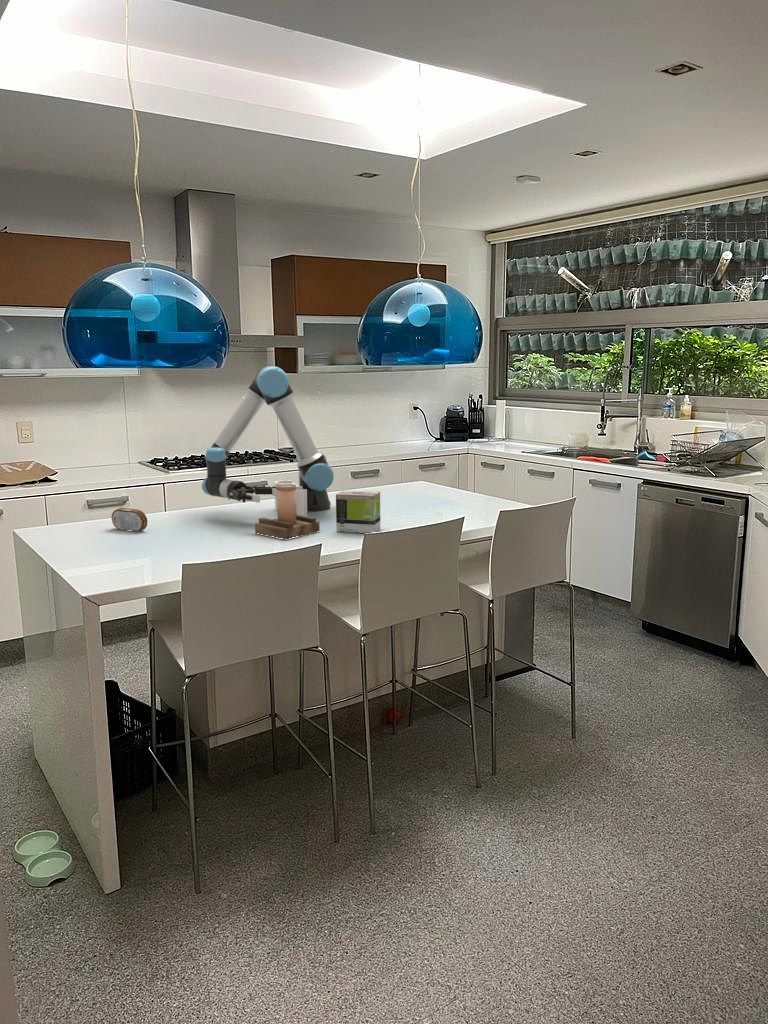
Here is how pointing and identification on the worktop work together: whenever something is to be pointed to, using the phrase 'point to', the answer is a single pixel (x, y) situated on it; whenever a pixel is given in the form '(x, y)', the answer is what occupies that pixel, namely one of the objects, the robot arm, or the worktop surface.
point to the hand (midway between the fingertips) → (272, 496)
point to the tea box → (358, 511)
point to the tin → (129, 519)
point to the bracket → (300, 498)
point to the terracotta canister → (286, 503)
